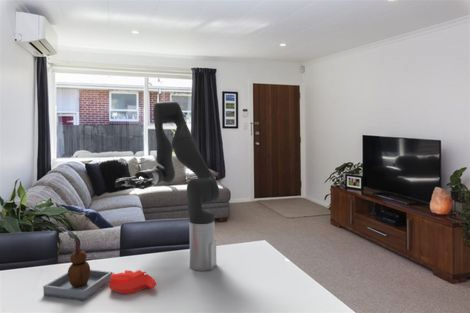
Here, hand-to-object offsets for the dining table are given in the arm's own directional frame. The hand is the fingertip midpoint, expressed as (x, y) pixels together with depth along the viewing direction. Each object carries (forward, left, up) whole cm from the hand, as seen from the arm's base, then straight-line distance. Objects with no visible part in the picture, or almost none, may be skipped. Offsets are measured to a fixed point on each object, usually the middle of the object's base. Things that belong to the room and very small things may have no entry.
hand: (125, 184), depth 134 cm
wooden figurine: (+3, +24, -29) cm, 38 cm away
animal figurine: (-15, +20, -30) cm, 39 cm away
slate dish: (+3, +24, -30) cm, 39 cm away
